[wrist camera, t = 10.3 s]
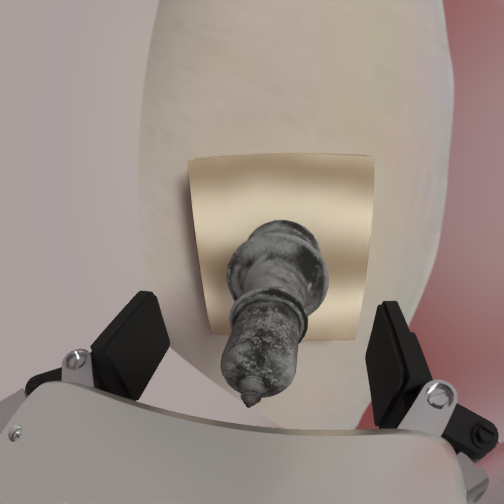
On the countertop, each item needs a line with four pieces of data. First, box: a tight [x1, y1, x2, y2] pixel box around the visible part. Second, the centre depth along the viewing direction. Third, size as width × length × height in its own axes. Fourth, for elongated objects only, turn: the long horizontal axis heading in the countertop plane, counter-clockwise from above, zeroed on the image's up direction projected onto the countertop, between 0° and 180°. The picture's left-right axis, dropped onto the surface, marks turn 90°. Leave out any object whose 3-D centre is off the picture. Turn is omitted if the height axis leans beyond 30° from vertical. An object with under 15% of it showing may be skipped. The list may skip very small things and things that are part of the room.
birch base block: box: [188, 153, 374, 340], centre depth 20 cm, size 14×12×3 cm
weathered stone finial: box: [221, 220, 329, 408], centre depth 13 cm, size 6×6×12 cm
